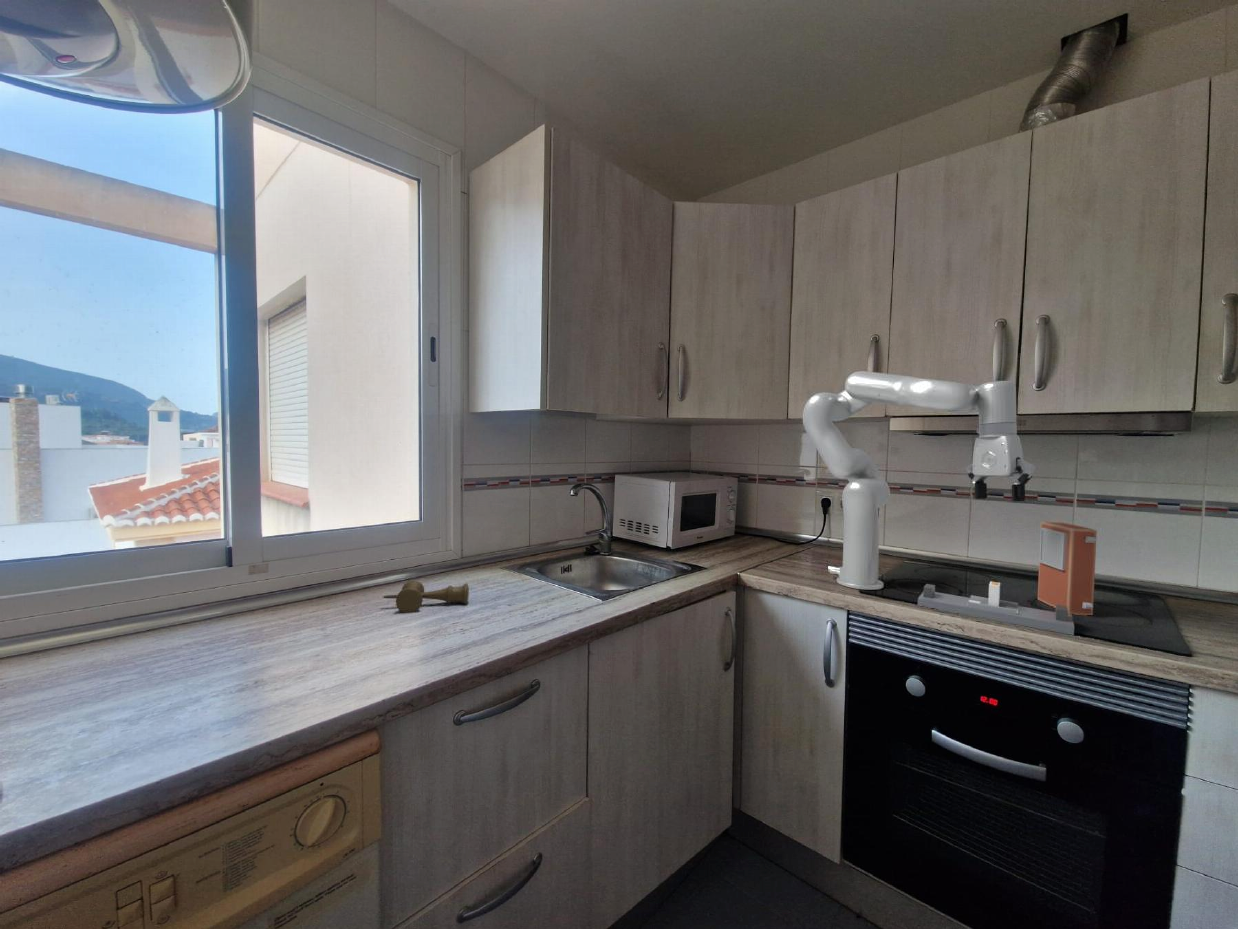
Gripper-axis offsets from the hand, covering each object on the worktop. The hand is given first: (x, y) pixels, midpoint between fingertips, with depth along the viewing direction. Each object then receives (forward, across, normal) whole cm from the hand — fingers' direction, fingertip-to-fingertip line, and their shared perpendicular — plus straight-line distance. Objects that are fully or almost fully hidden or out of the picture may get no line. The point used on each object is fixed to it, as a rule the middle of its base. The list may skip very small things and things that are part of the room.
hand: (998, 499), depth 125 cm
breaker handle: (+26, +1, -3) cm, 26 cm away
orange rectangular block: (+29, 0, +21) cm, 36 cm away
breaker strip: (+28, 0, -4) cm, 28 cm away
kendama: (+24, -32, -140) cm, 145 cm away
